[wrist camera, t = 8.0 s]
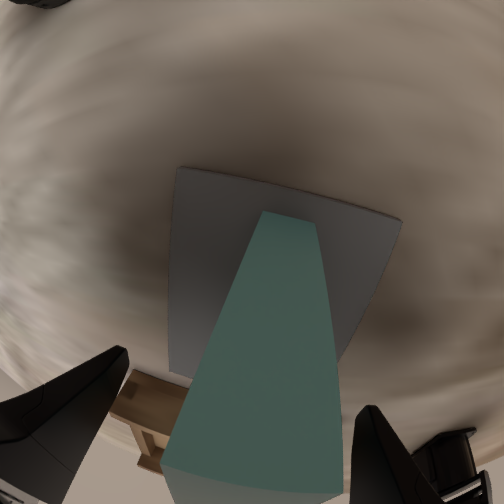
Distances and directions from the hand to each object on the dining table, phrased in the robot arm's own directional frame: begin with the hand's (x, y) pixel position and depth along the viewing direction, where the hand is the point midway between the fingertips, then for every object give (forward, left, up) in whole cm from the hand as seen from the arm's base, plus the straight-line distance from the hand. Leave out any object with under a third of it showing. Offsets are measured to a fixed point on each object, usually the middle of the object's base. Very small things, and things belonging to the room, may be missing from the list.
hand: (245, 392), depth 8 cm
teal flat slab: (0, 0, -4) cm, 4 cm away
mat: (0, 0, -5) cm, 5 cm away
